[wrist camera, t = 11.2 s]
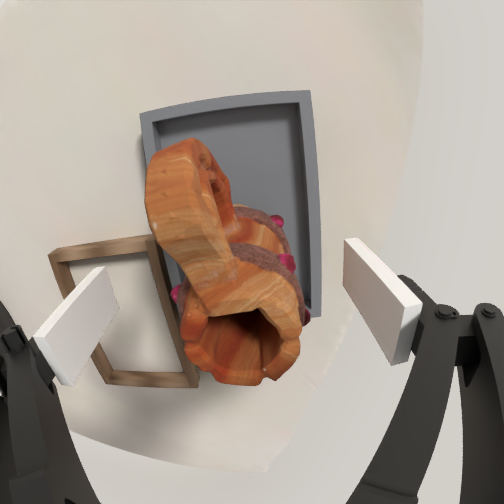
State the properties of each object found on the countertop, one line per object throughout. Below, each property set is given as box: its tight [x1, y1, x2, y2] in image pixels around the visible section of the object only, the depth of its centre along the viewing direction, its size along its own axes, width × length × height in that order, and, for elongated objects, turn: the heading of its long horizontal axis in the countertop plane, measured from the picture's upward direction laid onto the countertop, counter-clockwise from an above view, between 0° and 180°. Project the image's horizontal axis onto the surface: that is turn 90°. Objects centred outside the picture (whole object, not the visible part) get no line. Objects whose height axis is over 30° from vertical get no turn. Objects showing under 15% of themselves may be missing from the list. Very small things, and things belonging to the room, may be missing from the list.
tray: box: [140, 90, 321, 321], centre depth 25 cm, size 14×21×3 cm, turn 6°
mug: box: [145, 137, 311, 386], centre depth 19 cm, size 15×8×15 cm, turn 18°
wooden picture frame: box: [48, 234, 200, 388], centre depth 30 cm, size 14×20×2 cm
